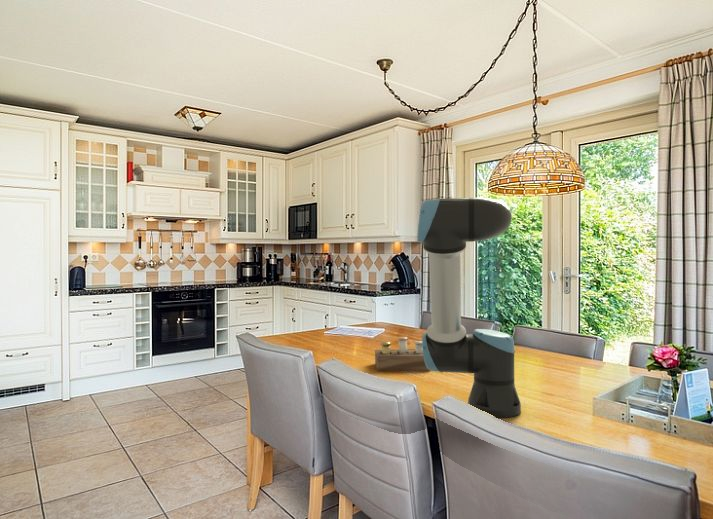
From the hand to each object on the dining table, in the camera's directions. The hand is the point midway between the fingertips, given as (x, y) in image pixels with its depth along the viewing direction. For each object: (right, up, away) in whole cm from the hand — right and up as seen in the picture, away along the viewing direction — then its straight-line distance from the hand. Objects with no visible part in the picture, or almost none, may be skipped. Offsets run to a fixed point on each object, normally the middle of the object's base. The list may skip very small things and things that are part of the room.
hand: (450, 303), depth 169 cm
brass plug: (-23, -26, +18) cm, 39 cm away
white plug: (-16, -24, +18) cm, 34 cm away
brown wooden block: (-16, -28, +18) cm, 37 cm away
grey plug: (-9, -26, +18) cm, 33 cm away
